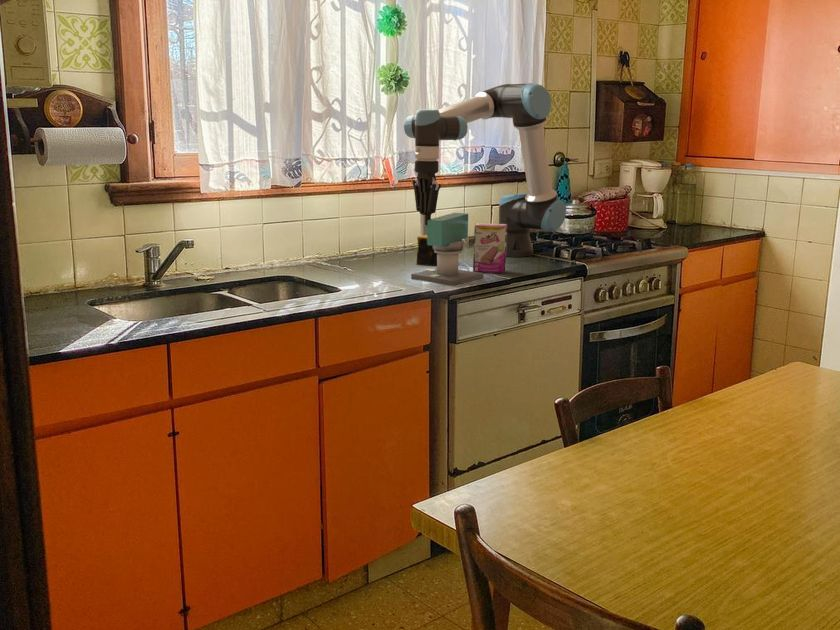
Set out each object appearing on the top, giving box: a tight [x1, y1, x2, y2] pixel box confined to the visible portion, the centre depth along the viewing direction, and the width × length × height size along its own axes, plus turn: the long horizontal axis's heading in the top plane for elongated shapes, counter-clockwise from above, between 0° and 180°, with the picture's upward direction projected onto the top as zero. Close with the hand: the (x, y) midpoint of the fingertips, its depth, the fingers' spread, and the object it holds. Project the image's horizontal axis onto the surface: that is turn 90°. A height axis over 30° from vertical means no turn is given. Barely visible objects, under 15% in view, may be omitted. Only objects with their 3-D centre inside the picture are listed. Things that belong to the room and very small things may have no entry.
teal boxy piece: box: [427, 212, 469, 251], centre depth 275 cm, size 10×21×10 cm, turn 154°
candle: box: [416, 235, 437, 267], centre depth 303 cm, size 10×10×10 cm
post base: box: [410, 250, 484, 287], centre depth 277 cm, size 17×17×10 cm
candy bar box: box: [472, 222, 507, 274], centre depth 287 cm, size 11×5×16 cm, turn 84°
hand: (425, 234), depth 270 cm, fingers closed
